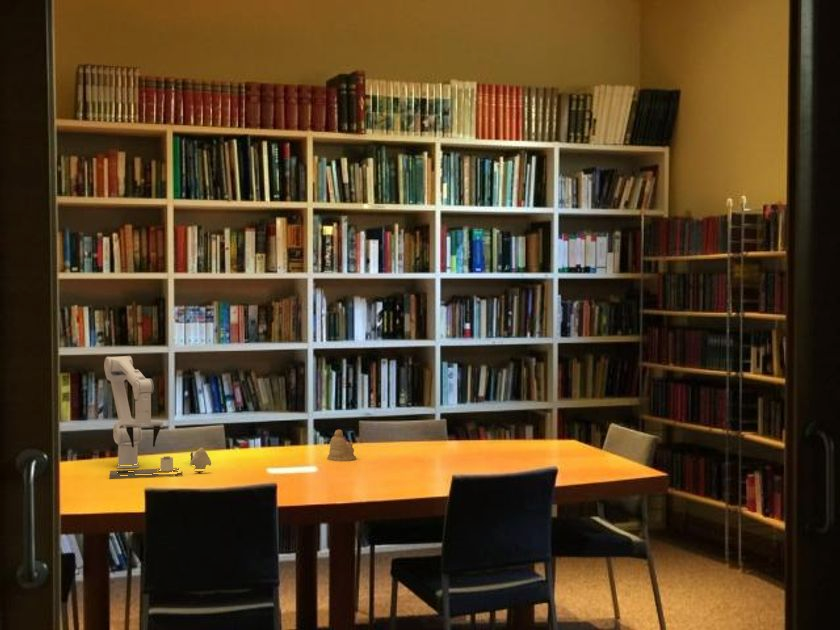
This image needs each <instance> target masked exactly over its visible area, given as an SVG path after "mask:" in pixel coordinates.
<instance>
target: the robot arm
mask: <svg viewBox="0 0 840 630" xmlns="http://www.w3.org/2000/svg"><path fill="white" fill-rule="evenodd" d="M133 365H134V361H133V358H132V356H130V355H125V356H106V357H105V358H104V365H103V367H104V368H103V369H104V373H105V374H104V375H105V377H106V380H108V381H109V382H110V384H111V389H112V394H113V399H114V404H115V409H116V414H117V419H118V420H117V422H115V424H114V425H113V427H112V432H113V433H112V435H113V440H114V443H115V444H116V445H117V446H118V447H117V448H118V449H117V451H118V452H117V454H118V458H117V461H118V463H117V466H116V468H117V469H135V468H137V469H138V468H139V467H140V465H139V463H140V462H138V460H139V459H138V445H139V444H140V442H141V441H142V439H143V430H142V429H144V428H152V429H153V431H152V432H153V433H152V434H153V435H152V436H153V437H152V438H153V439H152V440H153V441H152V447H154V448H155V447H156V440H157V438H158V435H159V433H160V431H161V428H164V421H152V394H153V393H154V389H155V388H154V387H155V386H154V382H153V379H152V378H146V377H145V376H144V374H143V373H142V372H141V371H140V370H139V369H135V367H134V366H133ZM126 380H127V382H129V384H130V385H131V386H132V392H133V399H134V400H135V402H134V403H135V404H134V405H135V409H134V410H135V411H134V412H135V413H134V414H135V416H134V417H135V418H133V417H132V414H131V410H130V404H129V399H128V395H127V390H126V385H125V381H126ZM137 463H138V464H137ZM118 464H119V465H118ZM134 464H137V465H134ZM120 465H132V466H120Z"/></svg>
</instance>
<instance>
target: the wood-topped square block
mask: <svg viewBox="0 0 840 630" xmlns="http://www.w3.org/2000/svg"><path fill="white" fill-rule="evenodd" d="M173 468H174V457H171V456H169V455H167V456H165V455H164V456H163V457H160V469H161V472H172V471H173Z"/></svg>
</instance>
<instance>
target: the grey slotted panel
mask: <svg viewBox="0 0 840 630" xmlns="http://www.w3.org/2000/svg"><path fill="white" fill-rule="evenodd" d="M177 468H178V469H177ZM179 468H180V467H173V469H175V470H173V472H178V471H177V470H179ZM160 469H161V468H159V467H158V468H147V469H145V468H142V469H141V468H140V469H122V470H119V469H117V470H110V471H109V480H112V479H113V480H114V479H115V480H118V479H119V480H120V479H140V478H139V477H145V478H156V477H155V476H169V477H172V476H171V475H182V476H183V472H182V473H177V474H153V473H169V472H161V471H159V470H160ZM128 471H134V472H128ZM117 472H118V473H117ZM135 474H152V475H135ZM120 475H128V476H120Z"/></svg>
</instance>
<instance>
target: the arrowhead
mask: <svg viewBox="0 0 840 630" xmlns="http://www.w3.org/2000/svg"><path fill="white" fill-rule="evenodd" d="M195 452H196V453H195V454H194V456H193V458H192V460H191V459H190V463H189V466H190V467H191V465H195V466H196V467H194V470H195V469H205V470H206V467H207V466H212V460H211V458H210V456H209V454H208V453H207V451H206V450H205V449H204V447H200V448H198V449H197V451H195ZM194 472H195V473H197V472H202V473H203V472H205V471H194Z"/></svg>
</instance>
